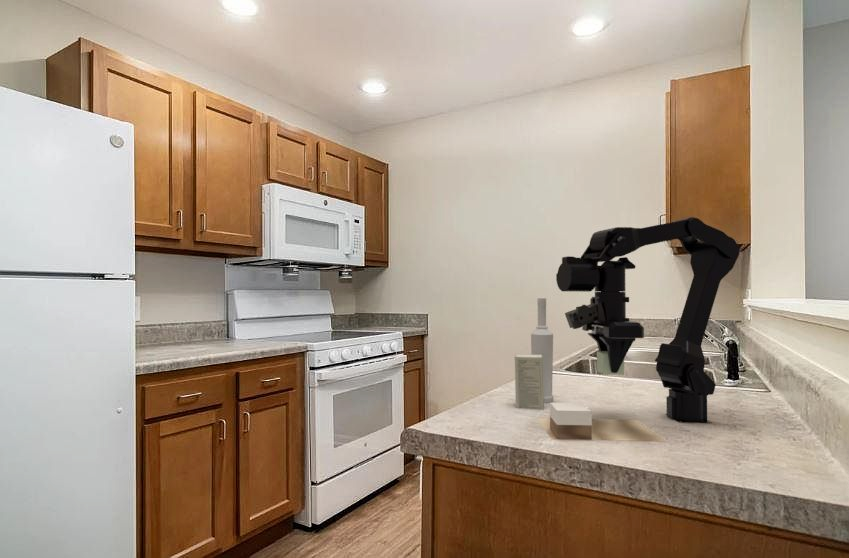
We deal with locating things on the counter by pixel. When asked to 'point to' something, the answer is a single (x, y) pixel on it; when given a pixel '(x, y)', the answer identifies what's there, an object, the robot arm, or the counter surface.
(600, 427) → the cutting board
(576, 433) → the tower base
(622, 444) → the counter surface
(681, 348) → the robot arm
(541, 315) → the bottle
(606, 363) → the green cube
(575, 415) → the tower mid
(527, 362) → the skincare box
